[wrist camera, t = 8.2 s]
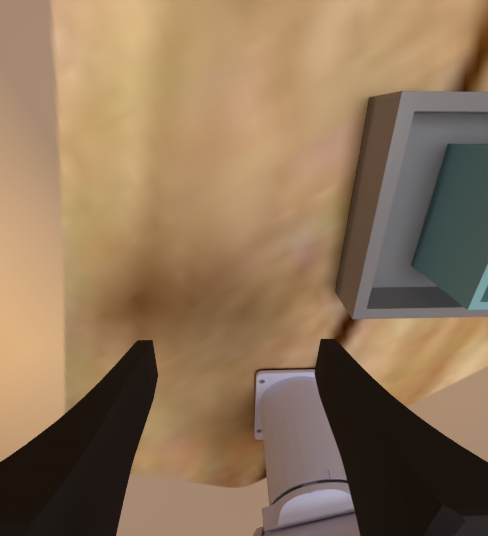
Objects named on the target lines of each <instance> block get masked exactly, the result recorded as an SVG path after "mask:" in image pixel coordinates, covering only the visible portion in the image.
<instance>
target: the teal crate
mask: <svg viewBox="0 0 488 536" xmlns="http://www.w3.org/2000/svg"><path fill="white" fill-rule="evenodd" d="M411 266H413V267H414V268H415V269H416V270H418V271H419V272H420V273H422V274H423V275H424V276H425V277H427V278H428V279H429V280H430V281H432V282H433V283H434V284H435V285H437V286H438V287H439V288H440V289H442V290H443V291H444V292H446V293H447V294H448V295H449V296H451V297H452V298H453V299H454V300H456V301H457V302H458V303H459V304H461V305H462V306H463V307H464V308H466V309H467V310H488V144H448V145H447V148H446V152H445V155H444V158H443V162H442V165H441V168H440V172H439V175H438V178H437V181H436V185H435V188H434V191H433V195H432V198H431V201H430V204H429V208H428V211H427V214H426V218H425V221H424V224H423V228H422V231H421V234H420V237H419V241H418V244H417V247H416V251H415V254H414V257H413V260H412V264H411Z"/></svg>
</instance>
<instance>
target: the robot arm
mask: <svg viewBox="0 0 488 536" xmlns="http://www.w3.org/2000/svg"><path fill="white" fill-rule="evenodd" d="M157 378H158V372H157V365H156V359H155V353H154V346H153V340H138V341H137V342H136V343H135V344H134V345H133V346H132V347H131V348H130V349H129V351H128V352H127V353H126V354H125V355H124V356H123V357H122V358H121V360H120V361H119V362H118V363H117V364H116V365H115V366H114V367H113V368H112V369H111V370H110V371H109V373H108V374H107V375H106V376H105V377H104V378H103V379H102V380H101V381H100V382H99V383H98V384H97V385H96V386H95V387H94V388H93V389H92V390H91V391H90V392H89V393H88V394H87V395H86V396H85V397H84V398H82V399H81V400H80V401H79V402H78V403H77V404H76V405H75V406H74V407H73V408H71V409H70V410H69V411H68V412H67V413H66V414H64V415H63V416H62V417H61V418H60V419H59V420H57V421H56V422H55V423H54V424H52V425H51V426H50V427H48V428H47V429H46V430H45V431H43V432H42V433H41V434H39V435H38V436H37V437H35V438H34V439H33V440H31V441H30V442H29V443H27V444H26V445H25V446H23V447H22V448H20V449H19V450H17V451H16V452H15V453H13V454H12V455H11V456H9V457H7V458H6V459H4V460H3V461H1V462H0V536H116V533H117V528H118V523H119V519H120V514H121V510H122V505H123V501H124V496H125V492H126V488H127V484H128V479H129V475H130V471H131V467H132V463H133V460H134V456H135V453H136V450H137V447H138V444H139V441H140V438H141V435H142V432H143V429H144V426H145V423H146V420H147V417H148V414H149V411H150V408H151V405H152V401H153V398H154V393H155V389H156V383H157ZM254 438H255V439H257V440H263V444H264V454H265V464H266V474H267V483H268V495H269V504H270V506H268V507H265V508H263V509H262V514H263V527H260V528H258V529H256V531H255V532H254V535H253V536H488V462H486V461H484V460H483V459H481V458H480V457H478V456H476V455H475V454H473V453H472V452H470V451H468V450H467V449H465V448H463V447H461V446H460V445H459V444H457V443H456V442H454V441H453V440H451V439H449V438H448V437H446V436H445V435H443V434H442V433H441V432H439V431H438V430H436V429H435V428H433V427H432V426H431V425H429V424H428V423H426V422H425V421H424V420H422V419H421V418H420V417H418V416H417V415H416V414H414V413H413V412H412V411H410V410H409V409H408V408H407V407H405V406H404V405H403V404H402V403H400V402H399V401H398V400H397V399H396V398H394V397H393V396H392V395H391V394H390V393H389V392H388V391H386V390H385V389H384V388H383V387H382V386H381V385H380V384H379V383H378V382H377V381H375V380H374V379H373V378H372V377H371V376H370V375H369V374H368V373H367V372H366V371H365V370H364V369H363V368H362V367H361V366H360V365H359V364H358V363H357V362H356V361H355V360H354V359H353V358H352V357H351V356H350V354H349V353H348V352H347V351H346V350H345V349H344V348H343V347H342V346H341V345H340V344H339V343H338V342H337V341H336V340H335V339H321V341H320V346H319V352H318V357H317V362H316V368H315V369H307V370H267V371H259V372H257V374H256V394H255V423H254Z"/></svg>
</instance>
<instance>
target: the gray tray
mask: <svg viewBox="0 0 488 536" xmlns="http://www.w3.org/2000/svg"><path fill="white" fill-rule="evenodd" d="M448 144H488V92H431V91H401V92H396V93H390V94H385V95H380V96H375V97H370V98H369V104H368V110H367V115H366V121H365V127H364V132H363V138H362V144H361V149H360V155H359V161H358V166H357V172H356V178H355V184H354V189H353V195H352V201H351V206H350V212H349V218H348V223H347V229H346V235H345V240H344V246H343V252H342V257H341V263H340V269H339V274H338V280H337V286H336V291H335V292H336V293H337V295H338V297H339V298H340V300H341V301H342V303H343V305H344V306H345V308H346V310H347V311H348V313H349V315H350V316H351V318H352V319H388V318H441V317H488V310H467V309H466V308H464V307H463V306H462V305H461V304H459V303H458V302H457V301H456V300H454V299H453V298H452V297H451V296H449V295H448V294H447V293H446V292H444V291H443V290H442V289H440V288H439V287H438V286H437V285H435V284H434V283H433V282H432V281H430V280H429V279H428V278H427V277H425V276H424V275H423V274H422V273H420V272H419V271H418V270H416V269H415V268H414V267H413V266H411V264H412V260H413V257H414V254H415V251H416V247H417V244H418V241H419V237H420V234H421V231H422V228H423V224H424V221H425V218H426V214H427V211H428V208H429V204H430V201H431V198H432V195H433V191H434V188H435V185H436V181H437V178H438V175H439V172H440V168H441V165H442V162H443V158H444V155H445V152H446V148H447V145H448Z"/></svg>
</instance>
